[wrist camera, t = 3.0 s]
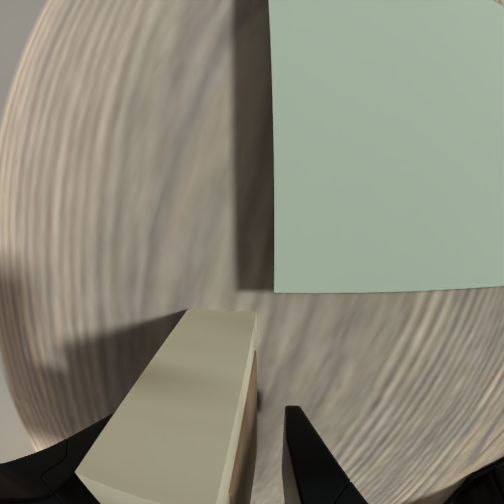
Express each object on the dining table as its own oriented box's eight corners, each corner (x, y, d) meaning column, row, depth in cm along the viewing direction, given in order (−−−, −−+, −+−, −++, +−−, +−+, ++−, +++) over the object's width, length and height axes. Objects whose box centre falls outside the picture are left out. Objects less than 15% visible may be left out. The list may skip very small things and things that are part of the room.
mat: (563, 271, 6) (577, 277, 5) (274, 279, 8) (273, 292, 7) (550, 53, 4) (562, 49, 3) (267, -36, 5) (264, -55, 4)
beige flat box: (258, 444, 9) (240, 577, 4) (207, 439, 10) (168, 565, 4) (258, 311, 8) (217, 514, 2) (188, 308, 8) (74, 471, 2)
